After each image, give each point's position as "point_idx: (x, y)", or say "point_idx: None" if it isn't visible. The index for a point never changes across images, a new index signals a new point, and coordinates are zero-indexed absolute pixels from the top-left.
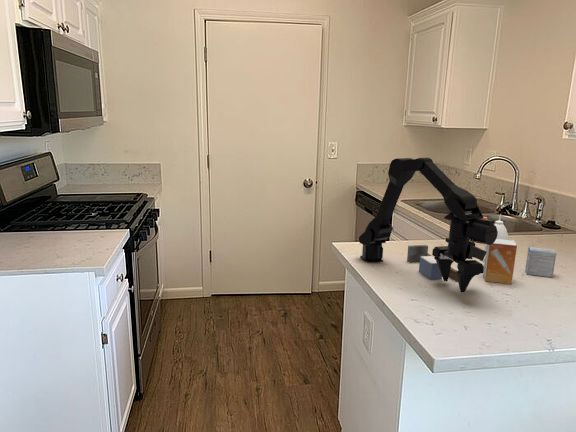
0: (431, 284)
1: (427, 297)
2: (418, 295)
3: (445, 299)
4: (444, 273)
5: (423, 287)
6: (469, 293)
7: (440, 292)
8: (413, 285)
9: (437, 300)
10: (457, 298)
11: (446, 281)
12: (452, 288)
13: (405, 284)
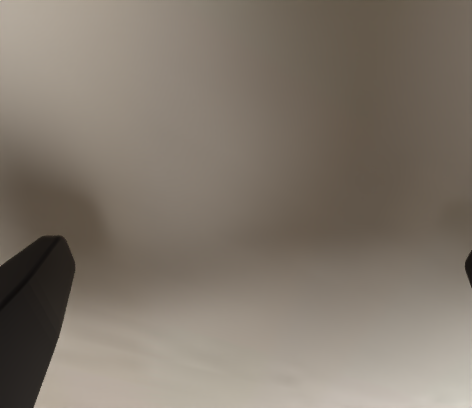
0: None
1: (324, 386)
2: (279, 405)
3: (406, 327)
4: (20, 386)
5: (137, 354)
6: (393, 30)
7: (260, 304)
8: (97, 382)
9: (394, 365)
10: (442, 250)
11: (67, 245)
12: (165, 164)
13: (83, 404)
